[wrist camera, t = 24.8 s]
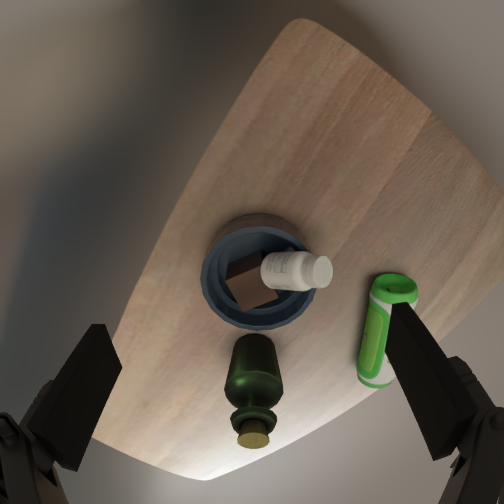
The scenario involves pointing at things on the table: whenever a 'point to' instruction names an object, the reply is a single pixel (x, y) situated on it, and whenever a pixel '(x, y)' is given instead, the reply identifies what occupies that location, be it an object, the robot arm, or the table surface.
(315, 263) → the pill bottle
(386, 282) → the speaker
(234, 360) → the potion bottle
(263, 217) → the blue round bin
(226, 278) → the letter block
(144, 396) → the table surface
